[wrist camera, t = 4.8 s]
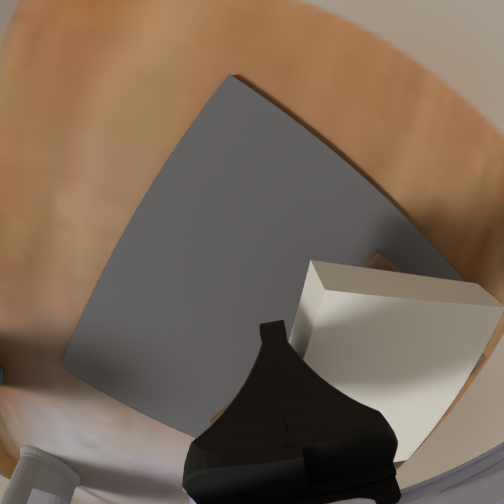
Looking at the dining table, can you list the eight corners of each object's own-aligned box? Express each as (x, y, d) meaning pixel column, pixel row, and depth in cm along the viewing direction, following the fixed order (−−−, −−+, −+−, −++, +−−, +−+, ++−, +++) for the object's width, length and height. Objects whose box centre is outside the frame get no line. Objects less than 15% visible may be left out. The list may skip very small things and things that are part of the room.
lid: (396, 432, 17) (408, 461, 14) (259, 436, 16) (262, 472, 14) (477, 283, 13) (507, 308, 11) (310, 259, 12) (326, 292, 10)
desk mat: (290, 466, 25) (290, 469, 25) (62, 362, 20) (60, 365, 20) (479, 300, 19) (482, 302, 19) (229, 75, 14) (229, 73, 13)
